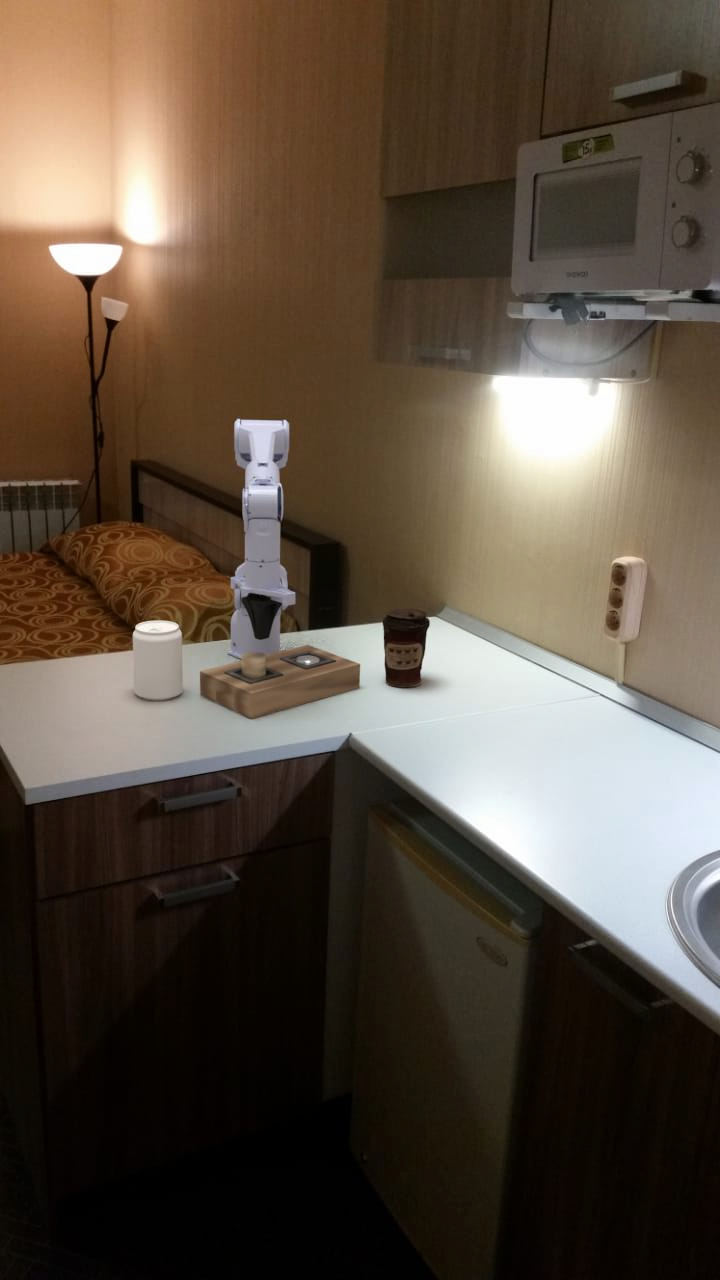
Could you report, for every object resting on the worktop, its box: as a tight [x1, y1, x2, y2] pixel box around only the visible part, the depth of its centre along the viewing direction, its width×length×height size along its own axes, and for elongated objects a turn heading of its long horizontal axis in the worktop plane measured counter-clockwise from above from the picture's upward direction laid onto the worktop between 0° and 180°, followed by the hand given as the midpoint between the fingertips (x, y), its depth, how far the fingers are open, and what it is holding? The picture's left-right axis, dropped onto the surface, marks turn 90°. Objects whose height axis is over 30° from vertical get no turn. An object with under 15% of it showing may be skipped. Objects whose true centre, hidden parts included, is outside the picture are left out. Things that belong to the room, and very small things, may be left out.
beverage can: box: [132, 620, 184, 701], centre depth 183 cm, size 8×8×12 cm
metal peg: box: [297, 656, 319, 665], centre depth 191 cm, size 4×4×4 cm
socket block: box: [199, 644, 361, 720], centre depth 187 cm, size 14×24×5 cm, turn 134°
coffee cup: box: [382, 608, 431, 688], centre depth 192 cm, size 9×8×13 cm
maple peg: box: [241, 652, 266, 680], centre depth 182 cm, size 4×4×4 cm
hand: (262, 638), depth 182 cm, fingers closed
